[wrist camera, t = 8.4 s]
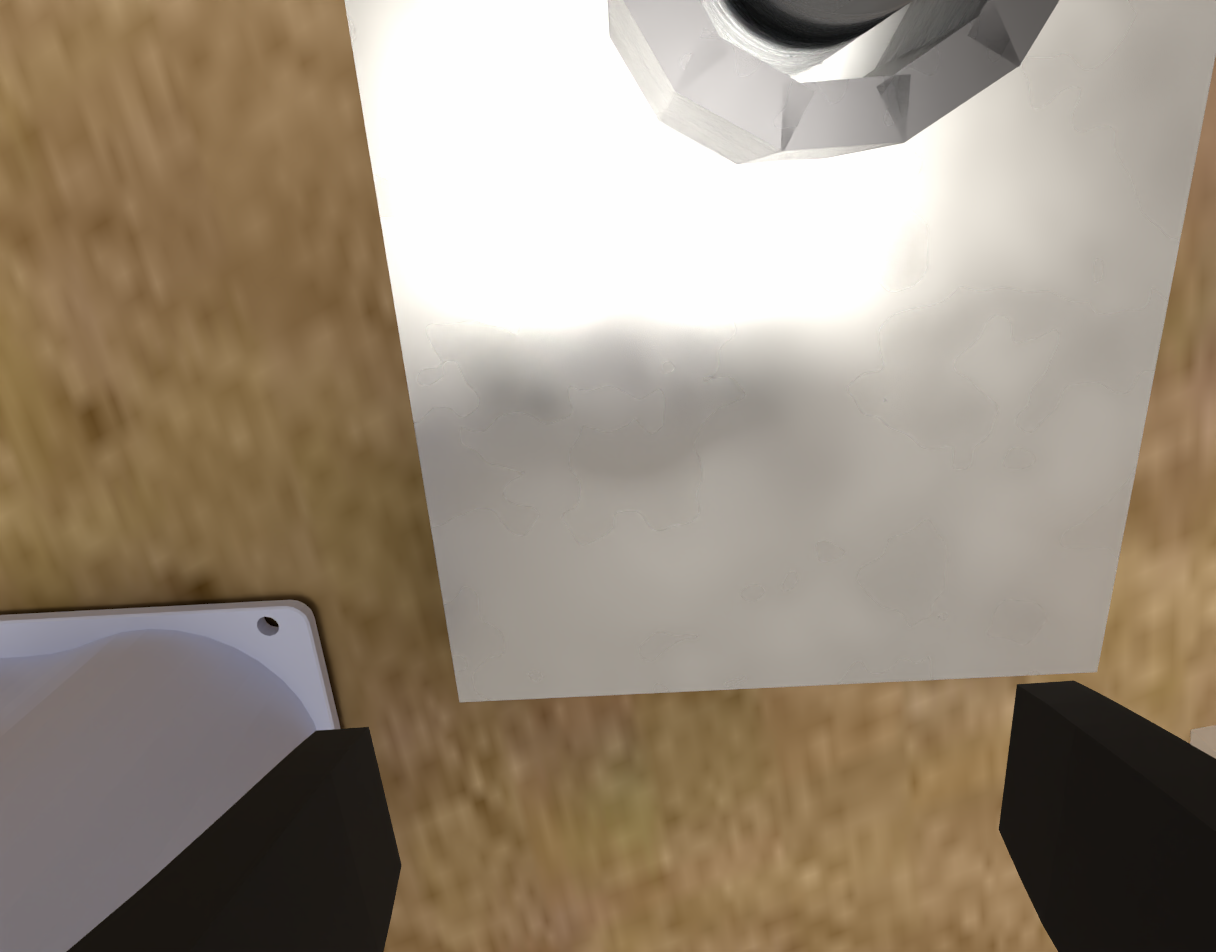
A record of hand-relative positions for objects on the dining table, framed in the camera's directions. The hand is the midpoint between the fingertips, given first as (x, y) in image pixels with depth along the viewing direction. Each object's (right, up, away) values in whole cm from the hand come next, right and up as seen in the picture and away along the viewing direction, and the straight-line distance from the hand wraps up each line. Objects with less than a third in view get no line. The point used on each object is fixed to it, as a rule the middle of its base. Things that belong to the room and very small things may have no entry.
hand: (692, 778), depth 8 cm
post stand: (+2, +9, +7) cm, 11 cm away
